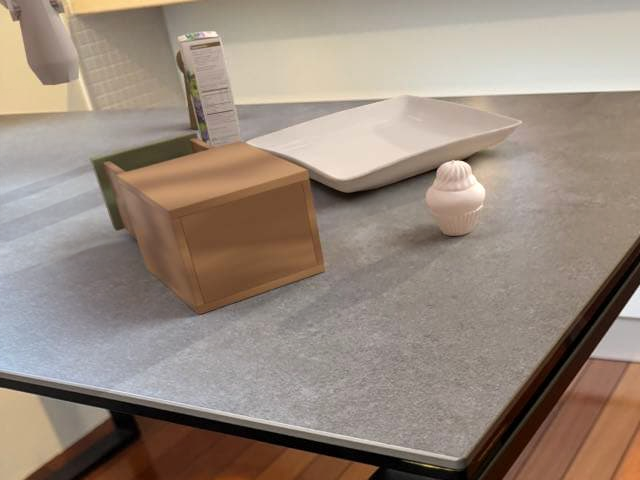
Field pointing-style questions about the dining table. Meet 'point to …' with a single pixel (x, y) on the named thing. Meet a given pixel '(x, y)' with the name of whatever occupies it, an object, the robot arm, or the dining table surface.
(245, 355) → the dining table surface
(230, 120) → the syrup box
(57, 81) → the salt shaker
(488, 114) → the square plate
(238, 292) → the cabinet
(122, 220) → the drawer
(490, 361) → the dining table surface
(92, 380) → the dining table surface
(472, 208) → the muffin
